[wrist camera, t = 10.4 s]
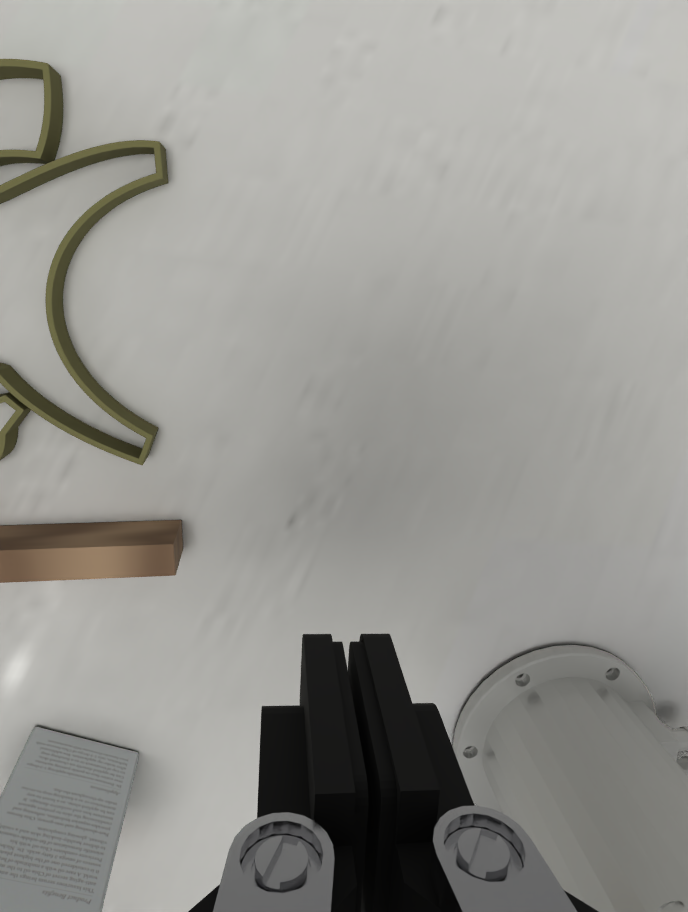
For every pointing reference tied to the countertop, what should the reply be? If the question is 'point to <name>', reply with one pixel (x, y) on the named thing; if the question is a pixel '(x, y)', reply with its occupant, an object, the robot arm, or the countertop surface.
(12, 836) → the skincare box
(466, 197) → the countertop surface
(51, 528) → the walnut fence
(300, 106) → the countertop surface
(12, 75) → the cookie cutter
